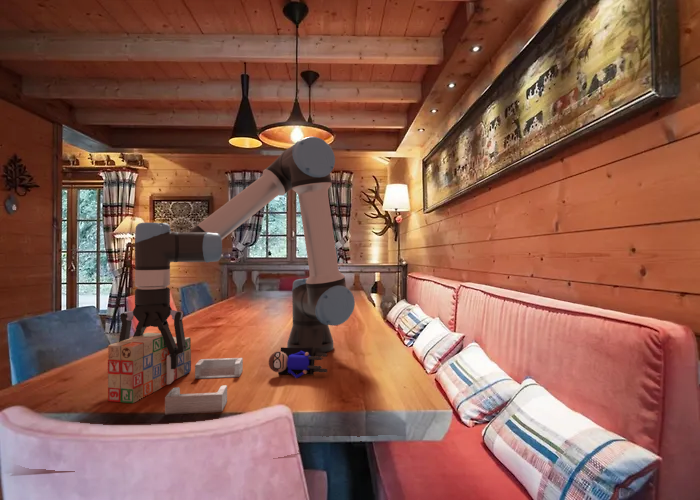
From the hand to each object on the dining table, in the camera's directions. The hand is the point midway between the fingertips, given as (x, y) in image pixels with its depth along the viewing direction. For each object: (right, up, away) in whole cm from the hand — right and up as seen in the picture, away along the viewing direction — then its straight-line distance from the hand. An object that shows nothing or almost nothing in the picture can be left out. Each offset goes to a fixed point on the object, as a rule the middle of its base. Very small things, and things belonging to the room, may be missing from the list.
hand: (152, 382), depth 92 cm
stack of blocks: (0, -1, +1) cm, 1 cm away
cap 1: (+16, -1, -13) cm, 20 cm away
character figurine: (+34, -1, +7) cm, 35 cm away
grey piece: (+13, -1, +8) cm, 16 cm away
